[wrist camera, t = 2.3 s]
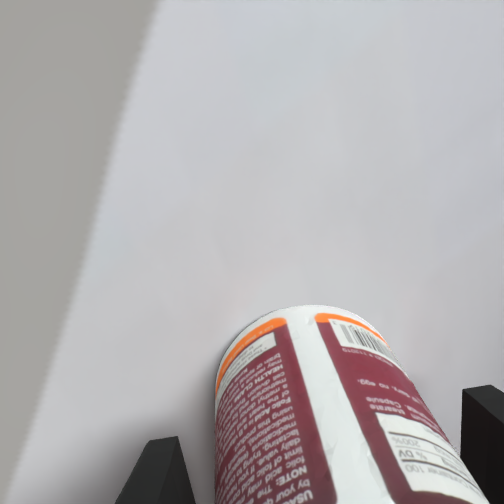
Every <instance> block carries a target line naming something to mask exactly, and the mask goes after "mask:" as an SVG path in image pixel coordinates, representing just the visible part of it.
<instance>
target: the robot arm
mask: <svg viewBox="0 0 504 504" xmlns="http://www.w3.org/2000/svg"><path fill="white" fill-rule="evenodd" d="M460 459H461V460H462V462H463V463H464V465H465V466H466V468H467V469H468V471H469V473H470V474H471V476H472V477H473V479H474V480H475V482H476V483H477V485H478V486H479V488H480V490H481V491H482V493H483V494H484V496H485V497H486V499H487V500H488V502H489V503H490V504H504V393H503V392H502V391H500V390H499V389H497V388H495V387H494V386H492V385H485V386H479V387H473V388H467V389H463V390H462V421H461V452H460ZM115 504H196V503H195V499H194V495H193V492H192V488H191V484H190V480H189V477H188V473H187V469H186V465H185V462H184V458H183V454H182V450H181V447H180V443H179V439H178V436H175V437H169V438H163V439H156V440H150V441H149V442H148V443H147V444H146V446H145V448H144V450H143V452H142V454H141V456H140V457H139V459H138V461H137V463H136V465H135V467H134V469H133V471H132V473H131V475H130V477H129V478H128V480H127V482H126V484H125V486H124V488H123V489H122V491H121V493H120V495H119V497H118V499H117V500H116V502H115Z"/></svg>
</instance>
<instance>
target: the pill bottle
mask: <svg viewBox="0 0 504 504" xmlns="http://www.w3.org/2000/svg"><path fill="white" fill-rule="evenodd" d="M215 395H216V397H215V504H490V503H489V502H488V500H487V499H486V497H485V496H484V494H483V493H482V491H481V490H480V488H479V486H478V485H477V483H476V482H475V480H474V479H473V477H472V476H471V474H470V473H469V471H468V469H467V468H466V466H465V465H464V463H463V462H462V460H461V459H460V457H459V456H458V454H457V453H456V451H455V450H454V448H453V447H452V445H451V444H450V442H449V440H448V439H447V437H446V435H445V434H444V432H443V431H442V429H441V428H440V427H439V425H438V424H437V422H436V420H435V419H434V417H433V415H432V414H431V412H430V411H429V409H428V408H427V406H426V404H425V403H424V401H423V400H422V398H421V397H420V395H419V394H418V392H417V390H416V388H415V386H414V384H413V383H412V382H411V380H410V379H409V378H408V376H407V374H406V373H405V371H404V369H403V368H402V366H401V365H400V363H399V362H398V360H397V358H396V357H395V355H394V353H393V352H392V351H391V349H390V347H389V346H388V344H387V343H386V341H385V340H384V338H383V337H382V336H381V335H380V333H379V332H378V331H377V330H376V329H375V328H374V327H372V326H371V325H370V324H369V323H368V322H367V321H365V320H364V319H362V318H361V317H359V316H358V315H356V314H354V313H351V312H349V311H347V310H344V309H341V308H336V307H332V306H327V305H301V306H294V307H289V308H284V309H280V310H276V311H274V312H271V313H269V314H267V315H265V316H263V317H262V318H260V319H258V320H257V321H256V322H254V323H253V324H251V325H249V326H248V327H247V328H246V329H245V330H243V331H242V332H241V333H240V334H239V335H238V337H237V338H236V339H235V340H234V341H233V342H232V344H231V345H230V347H229V348H228V349H227V351H226V353H225V355H224V356H223V358H222V361H221V364H220V366H219V370H218V373H217V378H216V389H215Z"/></svg>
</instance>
